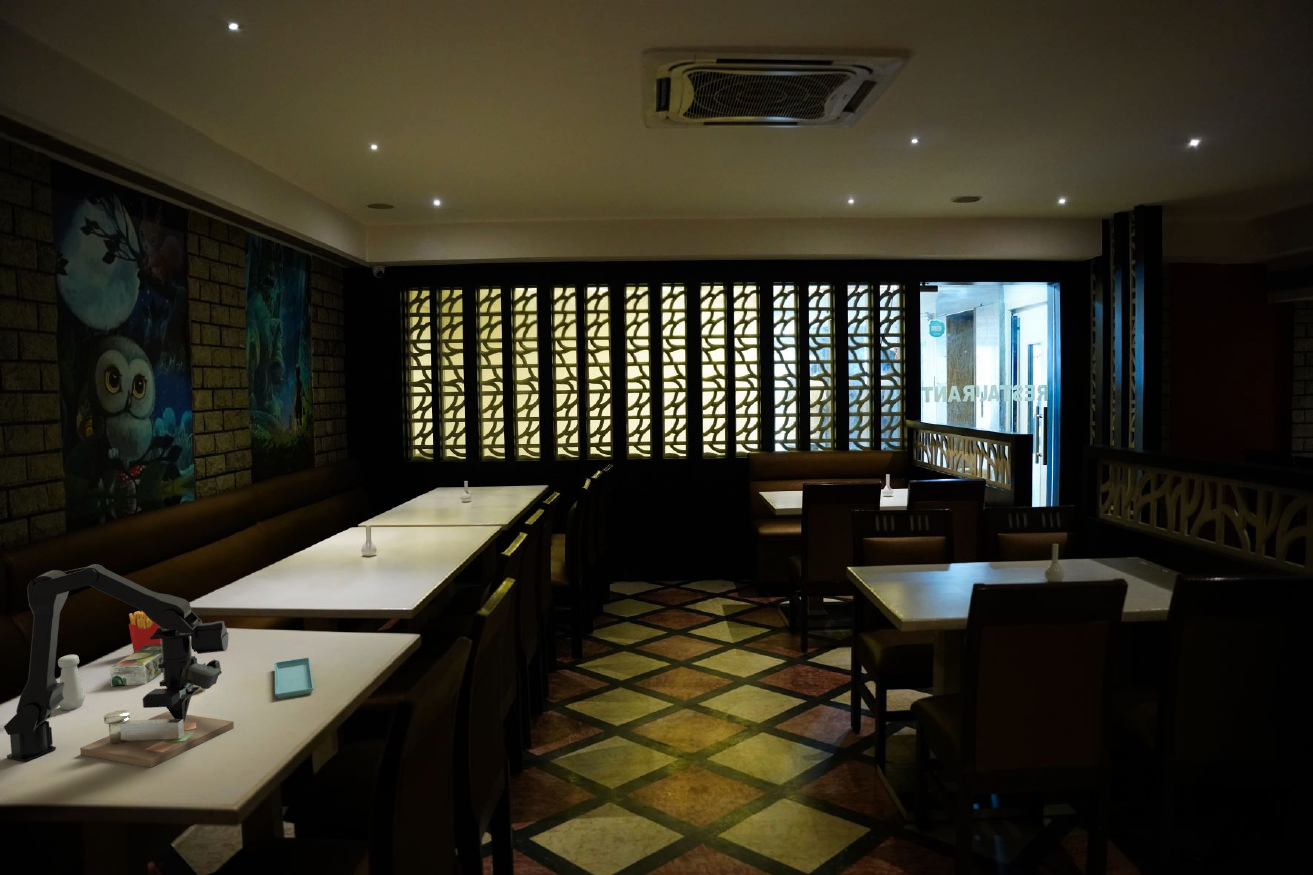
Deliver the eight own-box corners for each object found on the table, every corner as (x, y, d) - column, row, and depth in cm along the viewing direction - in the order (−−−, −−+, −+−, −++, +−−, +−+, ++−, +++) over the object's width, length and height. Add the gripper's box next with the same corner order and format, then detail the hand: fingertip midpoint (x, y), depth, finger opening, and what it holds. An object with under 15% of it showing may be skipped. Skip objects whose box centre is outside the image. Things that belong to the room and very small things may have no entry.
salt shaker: (71, 712, 206) (67, 660, 205) (51, 710, 207) (47, 659, 206) (91, 703, 211) (87, 652, 211) (72, 702, 213) (68, 652, 212)
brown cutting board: (151, 767, 174) (150, 759, 174) (80, 754, 181) (80, 746, 181) (233, 727, 193) (233, 720, 193) (167, 717, 201) (166, 710, 201)
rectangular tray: (314, 695, 214) (313, 686, 214) (275, 702, 210) (274, 692, 210) (310, 665, 238) (309, 657, 238) (274, 670, 234) (274, 662, 234)
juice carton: (146, 685, 224) (144, 663, 223) (107, 688, 222) (105, 666, 222) (180, 662, 243) (178, 641, 243) (144, 665, 242) (142, 644, 242)
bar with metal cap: (100, 744, 181) (98, 718, 181) (114, 735, 186) (112, 710, 186) (175, 743, 181) (173, 717, 181) (187, 733, 186) (186, 708, 186)
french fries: (129, 656, 249) (126, 613, 248) (134, 652, 253) (131, 610, 252) (164, 653, 251) (161, 610, 250) (168, 649, 255) (165, 607, 254)
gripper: (191, 668, 179) (196, 738, 180) (232, 641, 198) (236, 705, 199) (138, 670, 179) (143, 741, 180) (184, 643, 197) (188, 707, 198)
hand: (181, 723), depth 189 cm, fingers closed
